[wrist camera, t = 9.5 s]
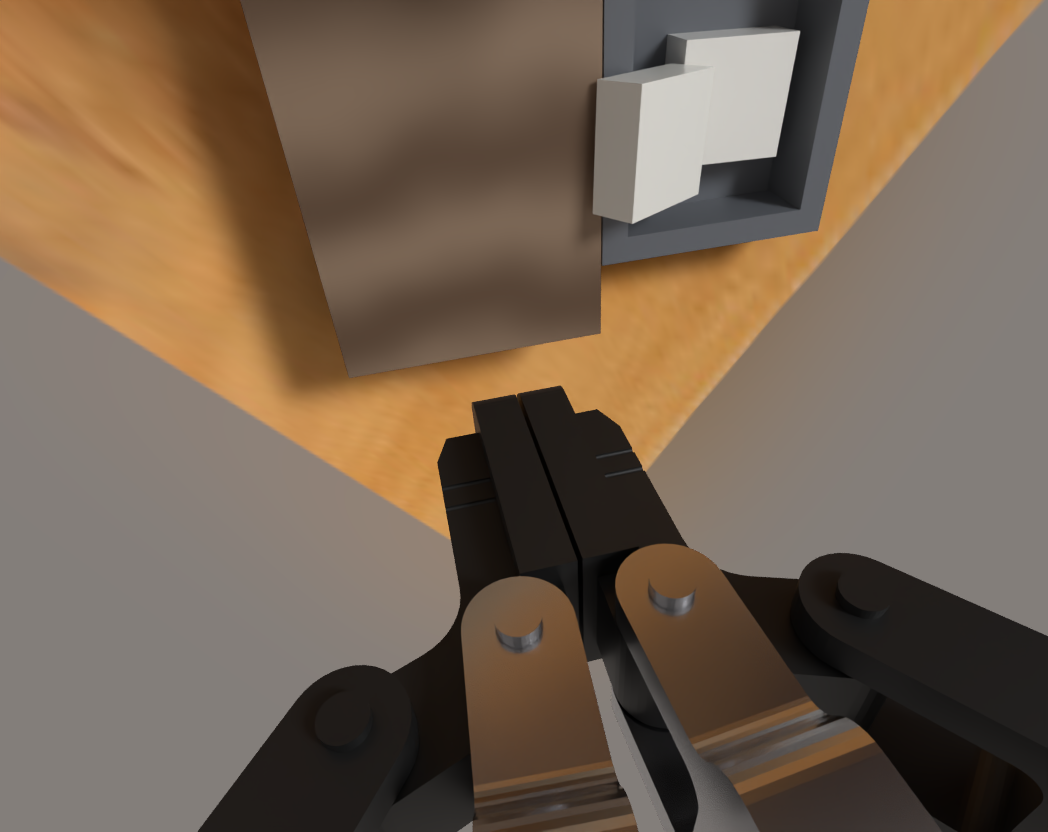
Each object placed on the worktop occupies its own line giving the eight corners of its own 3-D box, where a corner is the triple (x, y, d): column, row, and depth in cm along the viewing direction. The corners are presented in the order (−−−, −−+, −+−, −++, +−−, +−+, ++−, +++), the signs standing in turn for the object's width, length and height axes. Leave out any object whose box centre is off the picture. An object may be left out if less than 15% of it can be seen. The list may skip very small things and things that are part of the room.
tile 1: (597, 79, 24) (642, 83, 22) (671, 63, 26) (714, 66, 25) (592, 213, 26) (632, 224, 25) (659, 186, 29) (698, 194, 28)
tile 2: (800, 30, 26) (774, 25, 28) (687, 39, 26) (667, 34, 27) (775, 156, 29) (754, 145, 31) (674, 168, 29) (657, 155, 30)
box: (575, -122, 24) (605, -129, 21) (843, -143, 25) (903, -152, 22) (580, 237, 32) (602, 265, 30) (779, 206, 34) (817, 230, 31)
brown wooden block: (222, -132, 22) (198, -145, 18) (564, -157, 23) (603, -173, 20) (348, 330, 33) (349, 377, 29) (574, 292, 34) (600, 333, 31)
